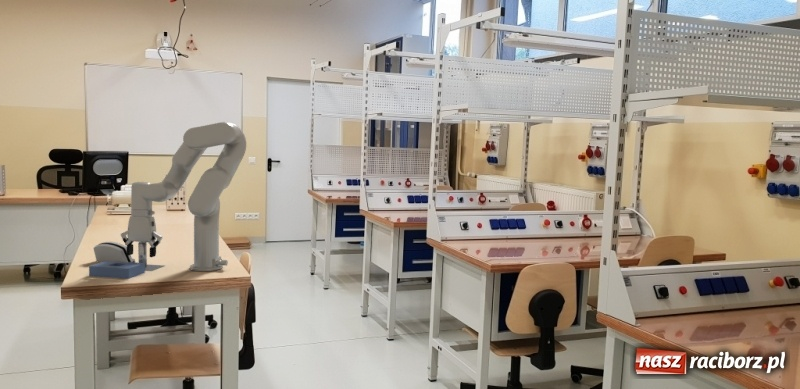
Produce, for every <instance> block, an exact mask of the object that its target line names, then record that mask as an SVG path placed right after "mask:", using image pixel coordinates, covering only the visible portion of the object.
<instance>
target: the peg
mask: <svg viewBox="0 0 800 389" xmlns="http://www.w3.org/2000/svg"><path fill="white" fill-rule="evenodd" d="M137 244H138V247H137V248H138V250H137V251H138V263H145V268H146V267H147V264H148V258H147V256H148V253H147V252H148V248H147V247H148V246H147V245H148V242H138V243H137Z"/></svg>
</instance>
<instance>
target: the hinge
mask: <svg viewBox="0 0 800 389" xmlns="http://www.w3.org/2000/svg"><path fill="white" fill-rule="evenodd" d="M93 252H94V255H95V256H94V257H95V260H96V262H98V261H99V262H98V263H101V262H104V261H119V262H135V263H136V259H135V258H133V256H132V255H127V245H125V244H122V243H120V242H119V243H118V242H116V241H103V242H100V243H98V244H97V245H95V246H94V247H93Z"/></svg>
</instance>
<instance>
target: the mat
mask: <svg viewBox="0 0 800 389" xmlns="http://www.w3.org/2000/svg"><path fill="white" fill-rule="evenodd" d="M164 267H165V265H161V264H148V263H147V267H146V268H145V272H146V271H147V272H154V271H156V270H159V269H161V268H164Z"/></svg>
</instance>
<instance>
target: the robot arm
mask: <svg viewBox="0 0 800 389" xmlns="http://www.w3.org/2000/svg"><path fill="white" fill-rule="evenodd" d="M182 140H183V142H182V143H181V145H180V146H179V148H178V149H177V150H176V152H175V153H174V154H173V156H172V159H171V167H170V169H169V171H168V172H167V174H166V176H165V177H164V178H163V179H162V180H161V182H155V183H154V182H153V183H151V182H149V181H134V182H133V183H131V187H130V188H131V192H130V194H131V195H130V196H131V197H130V200H131V201H130V203H131V204H130V205H131V206H130V207H131V210H130V211H131V213H130V216H129V218H128V224H127V225H128V226H127V230H126V231H124V232H122V233H120V237H121V240H122V242H124V245H125V246H126V247H127V255H131V256H132V255H134V244H133V243H134V242H136V243H137V242H138V243H139V242H147V244H149V246H150V247H149V258H153V257H156V255H157V247H158V245H159V244H161V241H162V239H163V236H162V235H161V234H159V233H157V226H156V220H155V217H154V216H153V215H155V214H156V212H155V210H153V202H156V203H162V202H166V201H169V200H171V199H173V198H174V197H175V196H176V195H177V193H178V192H179V191H180V189H181V188H182V187H183V185H184V184H185V183H186V181H187V179H188V177H189V176H190V173H191V172H192V169H193V168H194V167H195V166H196V164H197V163H198V161H199V160H200V158H201V157H202V156H203V154H204V153H205V151H206V150H207V149H208V148H212V147H217V146H222V145H224V146H223V148H222V150H221V152H220V153H219V155H218V156H217V160H216V161H215V163H214V165H212V167H210V168H208V169H206V170H205V171H204V172H203V174H202V175H201V176H200V179H199V180H198V182H197V184H196V185H195V187H194V188H193V191H192V193H191V195H190V196H189V199H188V202H187V207H188V211H189V212H190V213H191V214H192V215H193V216H194V218H193V263H192V264H190V266H189V269H190V270H191V271H194V272H214V271H219V270H221V269H223V267H224V266H225V267H226V266H228V264H229V263H228V262H229V261H228V260H227V259H223V258H222V256H221V255H220V253H219V252H220V249H219V248H220V234H219V233H220V227H219V226H220V213H221V212H220V211H221V201H220V197H221V195H222V193H223V191H224V190H226V189H227V188H228V187H229V186H230V184H231V182H232V179H233V178H234V176H235V174H236V173H237V170H238V168H239V166H240V164H241V162H242V160H243V158H244V156H245V154H246V151H247V138H246V136H245V133H244V132H243V131H242V128H240V127H239V126H238V125H237V124H235V123H233V122H228V121H221V122H215V123H210V124H207V125H201V126H196V127H191V128H189V129H187V130H186V131H185V132H184V134H183V138H182Z"/></svg>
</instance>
